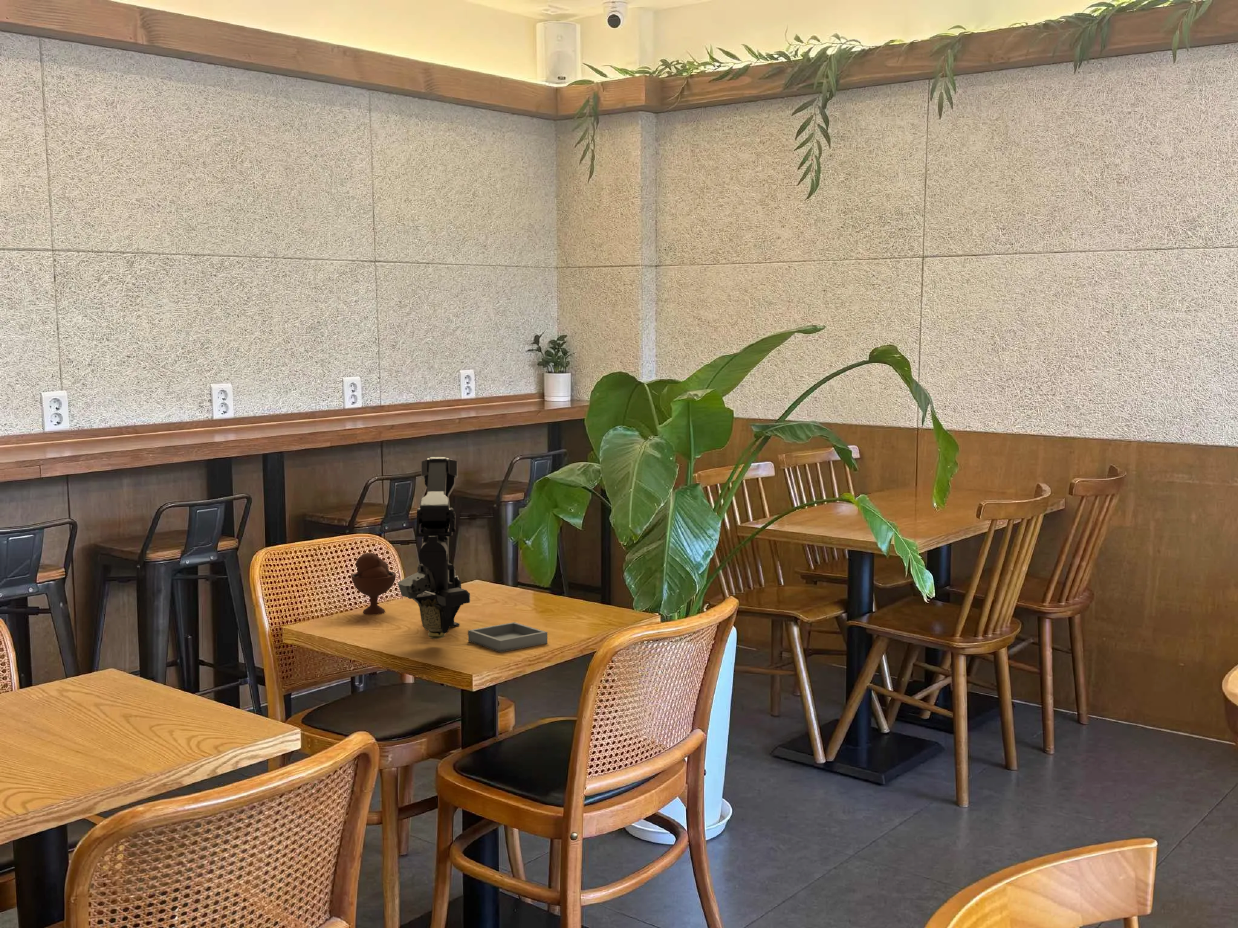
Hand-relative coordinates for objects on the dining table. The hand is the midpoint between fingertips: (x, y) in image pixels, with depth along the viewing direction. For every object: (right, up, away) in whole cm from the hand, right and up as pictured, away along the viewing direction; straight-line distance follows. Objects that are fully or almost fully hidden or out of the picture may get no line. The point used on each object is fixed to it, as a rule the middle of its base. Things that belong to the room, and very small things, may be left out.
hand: (436, 630), depth 269 cm
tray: (+15, -3, +4) cm, 16 cm away
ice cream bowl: (-20, 0, +34) cm, 40 cm away
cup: (0, -2, 0) cm, 2 cm away
